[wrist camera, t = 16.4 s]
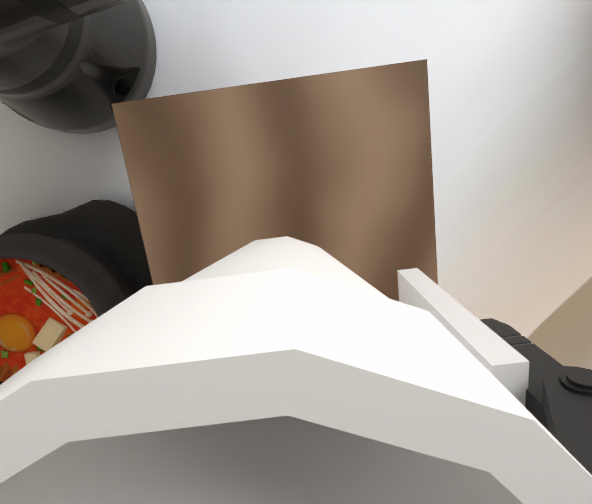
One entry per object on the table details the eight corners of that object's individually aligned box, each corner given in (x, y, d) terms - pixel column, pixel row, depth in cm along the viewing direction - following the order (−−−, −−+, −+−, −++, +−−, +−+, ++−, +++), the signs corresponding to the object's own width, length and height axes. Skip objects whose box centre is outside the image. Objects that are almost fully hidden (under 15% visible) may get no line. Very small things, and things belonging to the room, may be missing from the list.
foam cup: (423, 302, 17) (847, 730, 4) (285, 427, 18) (275, 1035, 5) (275, 154, 15) (199, 88, 2) (135, 304, 16) (-377, 761, 4)
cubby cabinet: (218, 265, 37) (164, 334, 21) (194, 134, 34) (111, 103, 19) (375, 244, 37) (438, 299, 21) (364, 111, 34) (426, 59, 18)
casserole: (94, 153, 35) (34, 148, 27) (225, 293, 38) (207, 326, 30) (-68, 311, 38) (-167, 349, 30) (65, 427, 41) (8, 490, 33)
